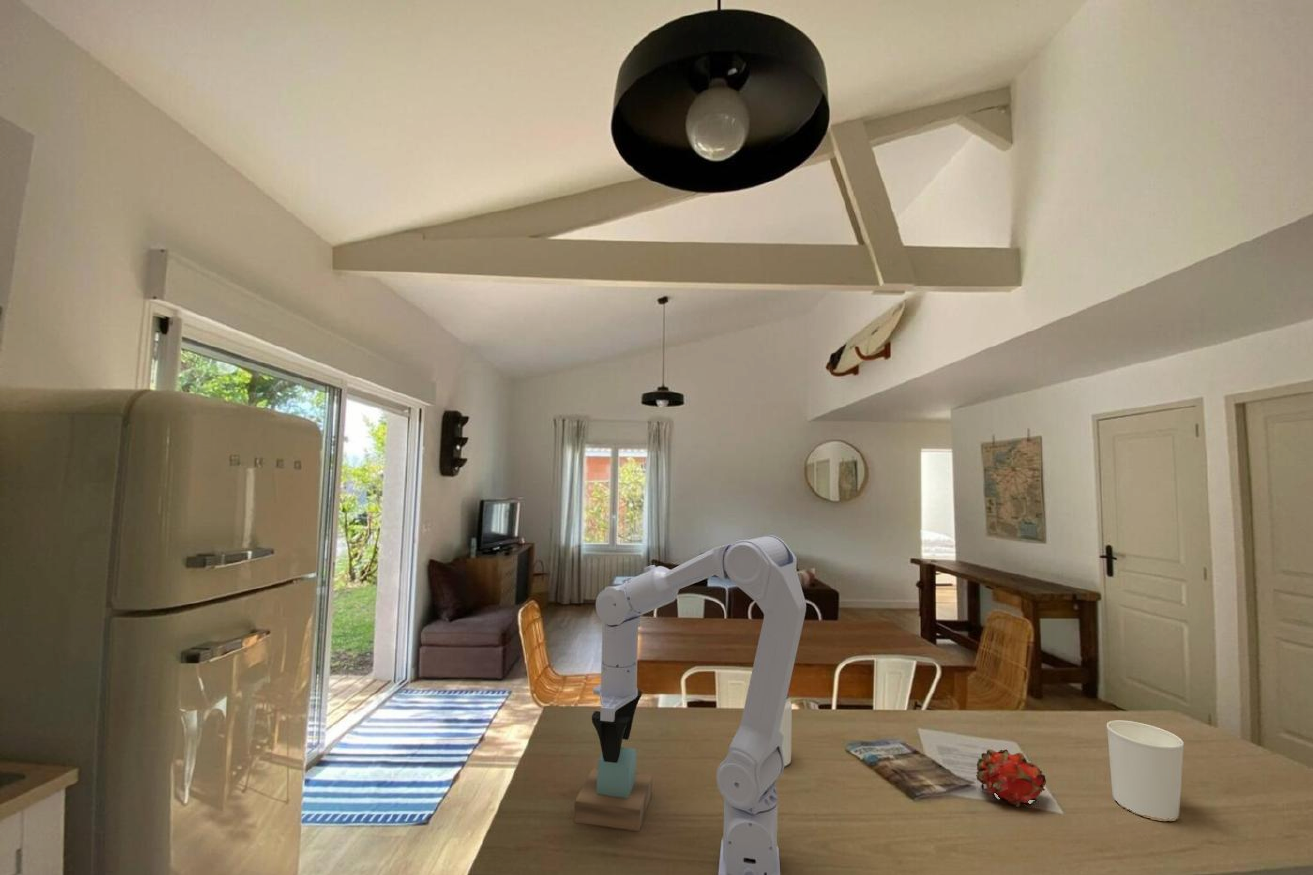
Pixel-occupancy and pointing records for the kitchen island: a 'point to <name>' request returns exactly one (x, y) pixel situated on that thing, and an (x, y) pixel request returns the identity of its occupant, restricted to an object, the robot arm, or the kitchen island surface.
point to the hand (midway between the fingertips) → (616, 749)
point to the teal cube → (617, 774)
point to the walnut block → (613, 804)
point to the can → (786, 731)
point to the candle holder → (1145, 768)
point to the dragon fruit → (1010, 776)
